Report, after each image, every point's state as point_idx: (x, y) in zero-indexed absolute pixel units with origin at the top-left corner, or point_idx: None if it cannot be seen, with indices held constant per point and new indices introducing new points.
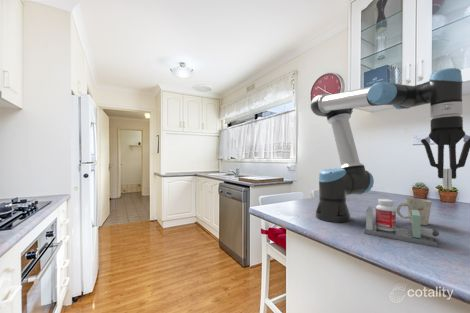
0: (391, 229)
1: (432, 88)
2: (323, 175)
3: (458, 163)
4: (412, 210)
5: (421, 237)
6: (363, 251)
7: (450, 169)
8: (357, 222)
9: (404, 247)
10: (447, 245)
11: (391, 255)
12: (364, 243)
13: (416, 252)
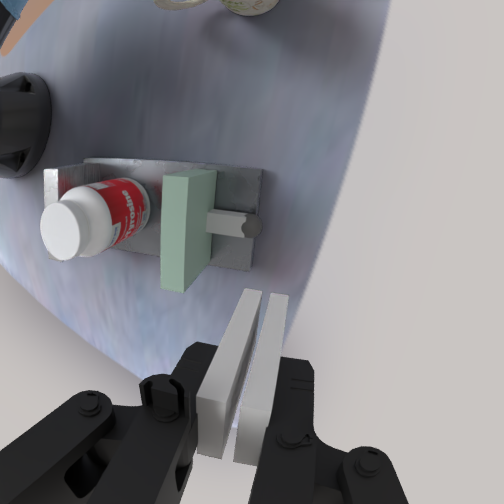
0: (137, 232)
1: None
2: None
3: (344, 490)
4: (165, 193)
5: (215, 243)
6: (116, 359)
7: (250, 462)
8: (67, 126)
9: (176, 307)
10: (283, 235)
11: (157, 362)
12: (106, 317)
13: (198, 329)
